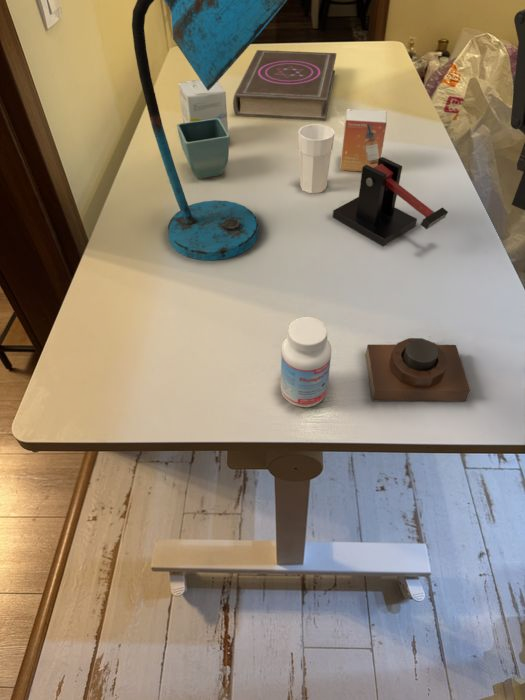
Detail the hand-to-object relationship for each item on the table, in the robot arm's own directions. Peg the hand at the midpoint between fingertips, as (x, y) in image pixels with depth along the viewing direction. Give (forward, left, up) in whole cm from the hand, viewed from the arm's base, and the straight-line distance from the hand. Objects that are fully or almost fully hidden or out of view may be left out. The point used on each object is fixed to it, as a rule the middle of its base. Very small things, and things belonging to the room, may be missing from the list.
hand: (524, 202), depth 54 cm
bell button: (+5, +7, -20) cm, 22 cm away
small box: (+33, -43, -24) cm, 59 cm away
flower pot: (+60, -26, -24) cm, 69 cm away
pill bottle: (+17, +16, -24) cm, 34 cm away
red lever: (+18, -23, -17) cm, 34 cm away
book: (+64, -70, -24) cm, 98 cm away
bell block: (+5, +7, -24) cm, 25 cm away
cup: (+38, -31, -24) cm, 54 cm away
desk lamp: (+45, -9, -24) cm, 52 cm away
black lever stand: (+23, -25, -24) cm, 41 cm away
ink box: (+68, -38, -24) cm, 81 cm away
